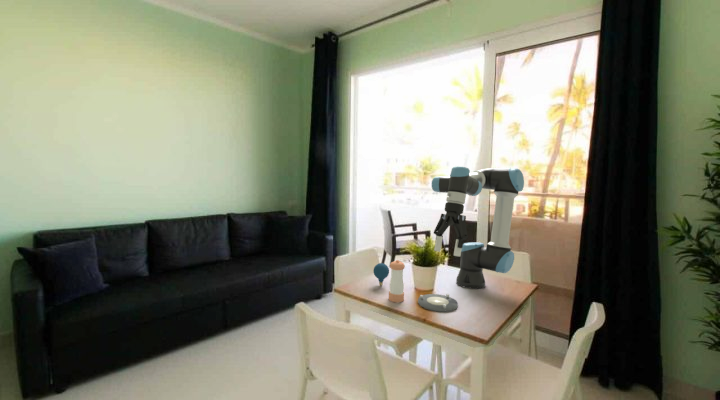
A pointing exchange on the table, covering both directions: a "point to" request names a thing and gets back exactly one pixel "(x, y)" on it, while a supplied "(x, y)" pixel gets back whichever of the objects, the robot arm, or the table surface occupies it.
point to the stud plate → (437, 302)
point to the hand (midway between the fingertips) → (446, 253)
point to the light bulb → (381, 272)
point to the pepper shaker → (396, 282)
